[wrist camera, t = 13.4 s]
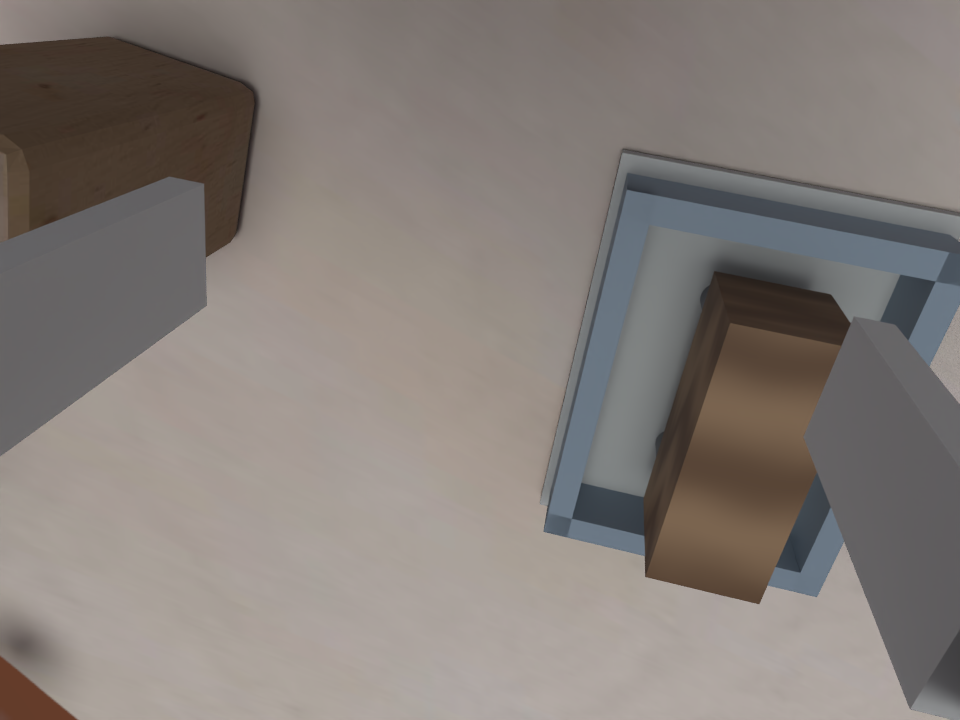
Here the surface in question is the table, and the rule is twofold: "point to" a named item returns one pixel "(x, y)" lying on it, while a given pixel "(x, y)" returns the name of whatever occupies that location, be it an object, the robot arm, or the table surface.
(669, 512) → the brown wooden bar
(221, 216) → the wooden block
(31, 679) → the table surface
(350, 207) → the table surface
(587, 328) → the peg frame
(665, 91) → the table surface
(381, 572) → the table surface
